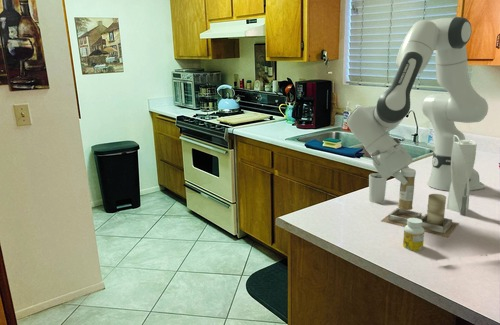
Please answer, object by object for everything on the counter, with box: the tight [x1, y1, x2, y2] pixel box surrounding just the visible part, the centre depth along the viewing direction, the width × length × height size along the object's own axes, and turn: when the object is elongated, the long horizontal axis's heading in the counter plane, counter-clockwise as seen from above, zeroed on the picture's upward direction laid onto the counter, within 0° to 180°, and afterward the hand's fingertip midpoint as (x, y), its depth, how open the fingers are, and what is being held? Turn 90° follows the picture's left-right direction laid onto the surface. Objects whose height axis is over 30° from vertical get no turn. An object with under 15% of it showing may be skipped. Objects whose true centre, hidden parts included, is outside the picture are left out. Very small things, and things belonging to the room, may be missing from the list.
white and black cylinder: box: [368, 172, 388, 204], centre depth 157 cm, size 7×7×10 cm
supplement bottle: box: [402, 218, 425, 252], centre depth 115 cm, size 5×5×10 cm
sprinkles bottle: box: [397, 167, 417, 211], centre depth 133 cm, size 5×5×14 cm
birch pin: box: [426, 193, 447, 227], centre depth 128 cm, size 5×5×10 cm
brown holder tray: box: [380, 207, 460, 238], centre depth 132 cm, size 21×13×3 cm, turn 50°
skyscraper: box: [445, 135, 477, 217], centre depth 139 cm, size 8×8×28 cm
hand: (409, 181), depth 131 cm, fingers closed on sprinkles bottle, 4 cm apart
